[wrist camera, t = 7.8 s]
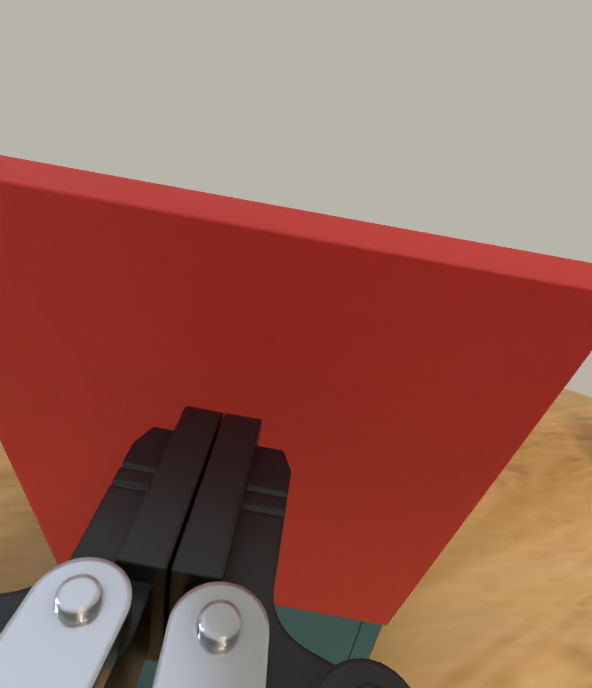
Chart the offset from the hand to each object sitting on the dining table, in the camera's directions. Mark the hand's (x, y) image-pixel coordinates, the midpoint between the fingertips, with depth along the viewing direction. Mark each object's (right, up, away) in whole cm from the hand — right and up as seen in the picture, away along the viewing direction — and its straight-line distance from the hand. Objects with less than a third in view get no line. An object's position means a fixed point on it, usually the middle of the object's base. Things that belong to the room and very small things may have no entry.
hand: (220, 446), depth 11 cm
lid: (0, -1, +4) cm, 4 cm away
